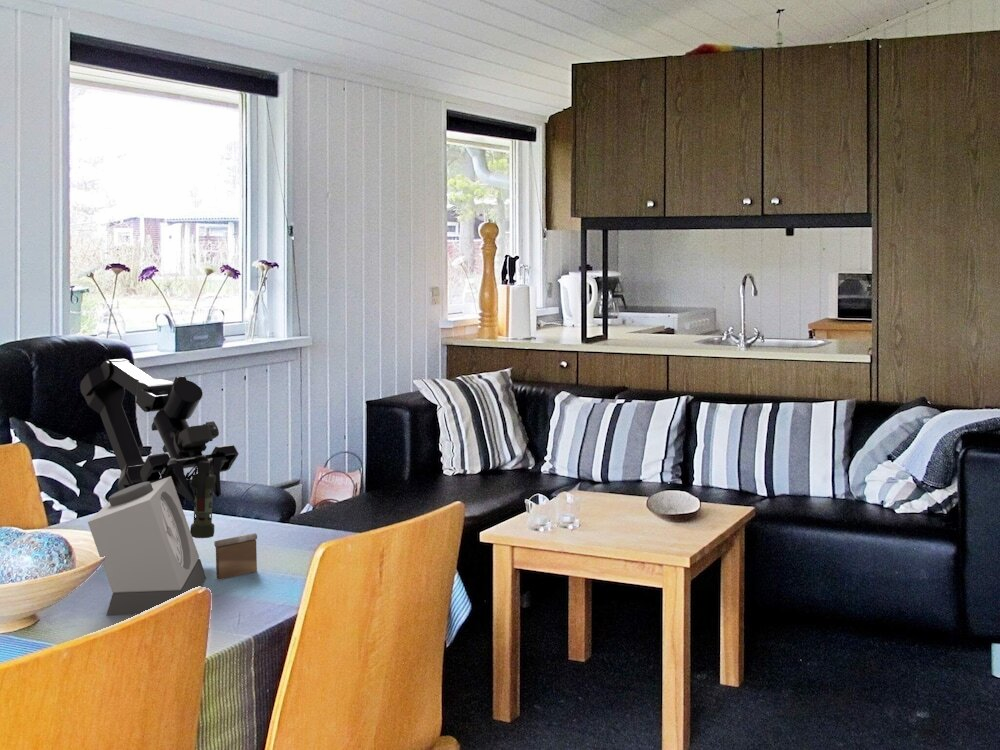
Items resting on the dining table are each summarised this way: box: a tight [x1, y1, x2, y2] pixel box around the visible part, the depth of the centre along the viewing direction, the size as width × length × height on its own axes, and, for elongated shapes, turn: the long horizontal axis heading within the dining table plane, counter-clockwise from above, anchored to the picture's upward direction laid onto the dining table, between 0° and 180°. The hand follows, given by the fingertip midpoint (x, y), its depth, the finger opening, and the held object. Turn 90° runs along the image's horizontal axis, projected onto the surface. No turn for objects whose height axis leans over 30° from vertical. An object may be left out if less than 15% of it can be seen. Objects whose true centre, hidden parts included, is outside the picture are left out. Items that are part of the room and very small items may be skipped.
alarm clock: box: [87, 476, 207, 616], centre depth 198 cm, size 20×16×20 cm
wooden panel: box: [214, 532, 258, 581], centre depth 211 cm, size 1×8×7 cm, turn 135°
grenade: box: [185, 461, 217, 539], centre depth 218 cm, size 6×6×15 cm
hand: (206, 498), depth 217 cm, fingers closed on grenade, 5 cm apart
